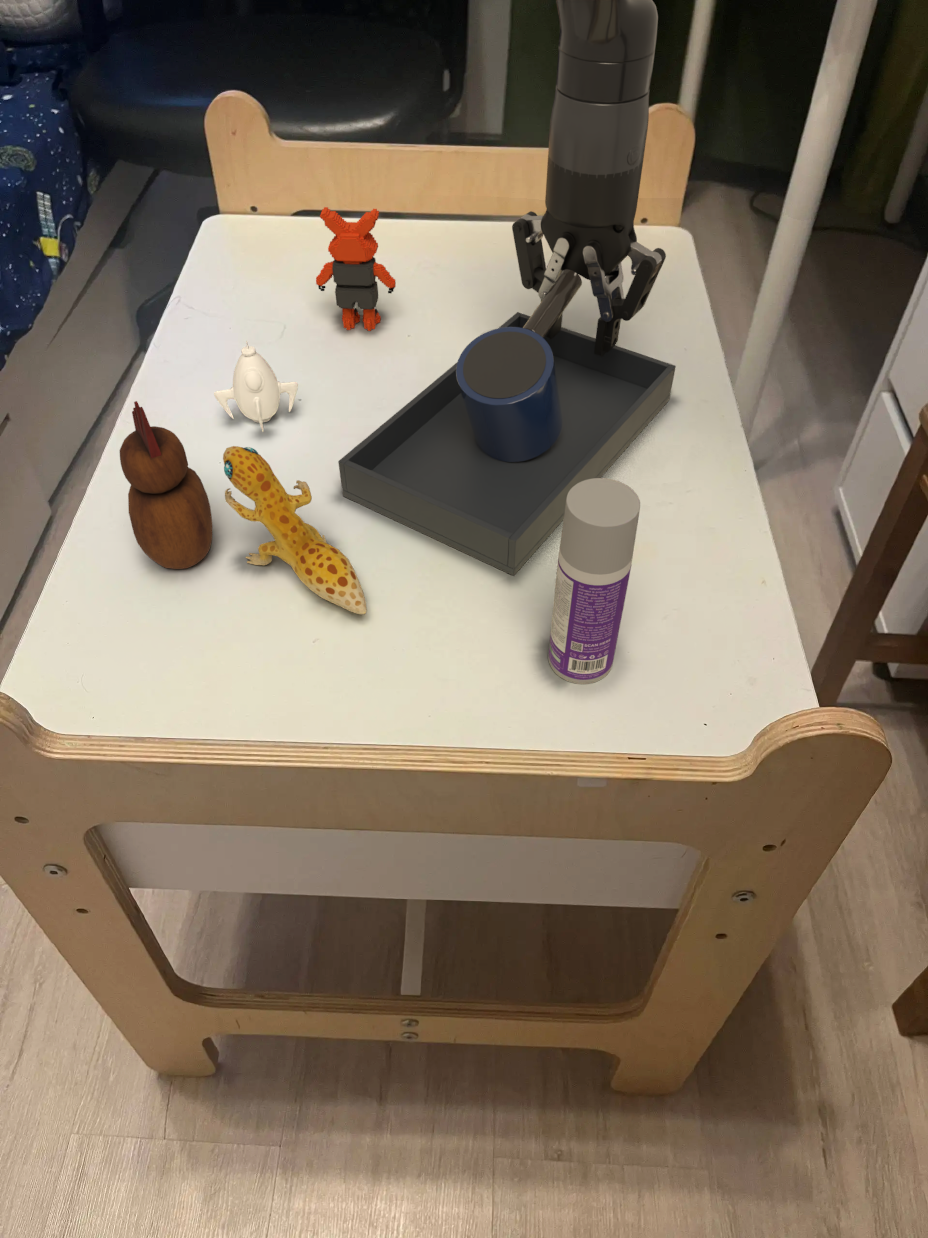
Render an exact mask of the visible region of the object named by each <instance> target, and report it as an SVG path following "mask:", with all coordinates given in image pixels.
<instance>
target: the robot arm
mask: <svg viewBox="0 0 928 1238" xmlns="http://www.w3.org/2000/svg"><path fill="white" fill-rule="evenodd" d="M555 3H556V8H557V14H558V21H559V34H558V35H559V36H558V51H557V65H556V80H555V89H554V91H555V92H554V96H553V103H552V108H551V114H550V120H549V121H550V122H549V131H548V136H547V141H548V150H547V165H546V166H547V167H546V183H545V196H544V197H545V198H544V205H545V208H546V209H545V212H544V214H543V215H537V213H536V212H535V211H532V210H531V211H528V212H527V213H525V214H524V215H522V216H521V217H520V218H518V219H517V220H516V221H514V222H513V223H512V226H511V230H512V236H513V241H514V246H515V251H516V252H515V253H516V259H517V264H518V270H519V274H520V281H521V284H522V286H523V288H525V289H526V290H534V291H535V292H536V293H537V296H538V297H539V299H540V302H541V301H542V300H543V298H544V297H545V295H546V294H547V293H548V291H549V290H550V288H551V287H552V286H553V284H554V283H555V281H556V280H557V278H558V277H559V276H560V274H561V273H562V271H563V270H566V269H570V270H573V271H575V272H576V273H577V274H578V275H579V276H580V277H582V278H584V279H585V280H587V281H589V283H590V287H591V292H592V296H593V297H595V298H596V301H597V305H598V311H599V315H600V316H599V318H597V325H596V333H595V338H596V340H595V349H594V354H595V355H598V356H601V357H602V356H603V355H604V354H605V353H606V352H609V351H610V350H611V349H612V348H613V347H614V346H615V345H616V346H617V343H618V342H619V335H620V329H621V321H625V322H628V321H630V320H632V319H633V318H634V317H635V316H636V315H637V314H638V313H639V312H640V311H641V310H642V309H643V307H644V306H645V305H646V303H647V300H648V298H649V295H650V293H651V291H652V289H653V287H654V286H655V282H656V280H657V278H658V276H659V274H660V271H661V269H662V267H663V265H664V263H665V261H666V257H667V255H666V251H665V250H664V249H663V248H661V247H657V248H654V249H653V250H651V249H650V248H647V247H646V246H644V245H643V244H642V243H639V242H638V237H637V234H636V231H635V218H636V214H637V209H638V202H639V201H638V200H639V196H640V195H639V194H640V188H641V180H642V173H643V167H644V158H645V152H646V151H645V150H646V144H647V136H648V131H649V130H648V128H649V121H650V119H649V118H650V89H651V82H652V76H653V68H654V63H655V62H654V61H655V55H656V54H655V53H656V45H657V38H658V26H659V25H658V24H659V14H658V10H657V9H658V8H657V6H656V4H655V2H654V1H653V0H555ZM543 237H544V238H545V240H546V243H547V245H548V247H549V249H550V252H551V253H552V254H551V257H550V259H549V261H548V264H547V265H546V259H545V252H544V247H543V246H544V245H543V240H542V239H543ZM627 257H628V258H629V259H630V262H631V266H630V273H631V275H632V276H633V279H632V281H631V284H630V286H629V287H628V289H627V290H628V291H627V293H626V295H625V296H624V289H623V282H624V271H623V266H622V262H623V261H624V260H625V259H626V258H627ZM563 315H564V312H563V313H562V314H561V316H560V317H559V319H558V320H557V321H556V323H555V324H554V326H553V327H552V329H551V330H550V332H549V333H548V334H547V336H546V338H549V339H552V338H553V337H554V336H556V335H557V334H558V333H559V332H560V330H561V327H563V326H562V325H563Z"/></svg>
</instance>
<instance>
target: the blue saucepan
mask: <svg viewBox="0 0 928 1238" xmlns="http://www.w3.org/2000/svg"><path fill="white" fill-rule="evenodd" d="M581 277H582V276H580V275H579V274H577V273H576V272H575V271H573V270H570V269H566V270H563V271H562V273H561V274H560V276H559V277H558V278H557V280H556V281H555V283H554V284H553V286H552V287H551V288H550V290H549V291H548V293H547V294H546V295H545V297H544V298H543V300H542V301H541V300H540V303H539V304H538V306H537V307H536V309H535V310H534V311H533V312H532V313H531V315H530V316H531V317H530V318H529V320H528V321H527V322H526V324H525V325H524V327H523V328H520V327H503V328H499V327H497V328H494V329H491V330H488V331H486V332H484V333H481V334H480V335H479V336H477V337H475V338H474V339H473V340H471V341H470V342H469V343H468V344H467V345H466V346H465V347H464V349H463V350H462V352H461V354H460V355H459V357H458V360H457V362H458V363H457V362H456V363H457V367H456V376H457V381H458V384H459V388H460V391H461V394H462V398H463V401H464V404H465V408H466V411H467V415H468V418H469V421H470V425H471V428H472V431H473V435H474V438H475V440H476V443H477V444H478V446H479V447H480V449H481V450H482V451H483V452H484V453H486V454H487V455H489V456H490V457H492V458H494V459H497V460H500V461H505V462H520V461H526V460H529V459H532V458H535V457H537V456H539V455H541V454H542V453H544V452H545V451H547V450H548V449H549V448H550V447H551V446H552V445H553V444H554V442H555V441H556V440H557V438H558V436H559V434H560V432H561V429H562V422H563V419H562V411H561V404H560V398H559V391H558V384H557V378H556V371H555V364H554V358H553V353H552V350H551V348H550V346H549V344H548V343H547V341H546V340H545V337H546V336H547V334H548V333H549V332H550V330H551V329H552V327H553V326H554V324H555V323H556V321H557V320H558V319H559V317H560V316H561V314H562V313H563V314H564V312H565V310H566V308H567V307H568V306H569V304H570V303H571V301H572V300H573V298H574V297H575V296H576V294H577V292H578V291H579V290H580V288H581V287H582V285H583V280H582V278H581Z"/></svg>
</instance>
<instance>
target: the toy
mask: <svg viewBox="0 0 928 1238" xmlns="http://www.w3.org/2000/svg"><path fill="white" fill-rule="evenodd" d="M222 460H223V465H224V467H223V472H224V475H225V476H226V477H227V479H228V480H229V481H230V483H231V484H232V486H233V487H234V488H235V489H237V490H238V491H239V492H241V493H242V494H243V495H244V496H245V497H247V498H248V499H250V500H251V501H253V502H254V506H255V507H254V509H251V508H248V507H246V506H244V505H243V504H241V503H240V502H238V501H237V500H236V499H235V497H233V496H232V494H233V493H232V490H231V488H226V489H225V490H224V499H225V502H226V504H228V505H229V507H230V508H232V510H234V511H235V512H236V513H237V514H238V515H239V516H240V517H241V518H242V519H244V520H246V521H250V522H257V523H258V522H259V523H261V524H262V525H263V526H264V527H265V528H266V529H267V531H268V532H269V534H270V535H271V536H272V537H273V539H274V540H270V541H267V542H264V543H260V544H259V546H258V548H257V549H258V553H255V552H249V553H248V555H247V556H245V559H248V560H247V561H246V563H247V564H250V565H255V566H267V565H269V564H270V563H272V561H273V556H275V557H278V559H280V560H282V561H283V562H285V563H286V564H288V565H289V566H291V569H292V570H293V571H294V573H295V575H296V576H297V578H298V579H299V580H300V582H302V584H304V585H305V586H306V587H307V588H308V589H309V590H310V591H311V592H313V593H314V594H315V595H317V596H318V597H320V598H322V599H323V600H326V602H327V601H328V602H329V603H332V604H334V605H336V606H338V607H340V608H343V609H344V610H347V611H349V612H351V613H354V614H356V615H365V614H367V602H366V598H365V594H364V589H363V587H362V585H361V582H360V579H359V577H358V575H357V573H356V571H355V568H354V566H353V565H352V563H351V561H350V559H349V558H348V557H347V556H346V555H345V554H344V553H343V552H342V551H340V549H338V548H336V547H334V546H332V545H331V544H329V543H327V540H326V537H325V535H324V534H322V535H321V534H320V533H319V531H318V529H317V528H315V526H313V525H311V524H309V523H307V522H305V521H304V520H303V519H302V518H301V516H299V514H297V513H296V510H298V509H299V508H302V507H304V506H307V505H309V504H310V503H311V502H312V501H313V500H312V498H313V497H312V496H313V495H312V493H311V489H310V486H309V484H308V482H307V481H303V480H299V479H298V480H297V479H296V482H295V483H296V485H294V486H293V490H296V489H297V490H300V492H301V494H295V495H294V494H290V493H288V492H287V491H286V489H285V488H284V486H283V485H282V483H281V482H280V480H279V479H278V477H277V476H276V475H275V473H274V471H273V469H272V467H271V465H270V464H269V463H268V461H266V459H265V458H263V456H261V454H259V452H258V450H256V449H255V448H253V447H249V446H245V447H242V446H239V445H233V446H229V447H226V448H225V450H224V452H223V454H222Z"/></svg>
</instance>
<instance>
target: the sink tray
mask: <svg viewBox="0 0 928 1238" xmlns="http://www.w3.org/2000/svg"><path fill="white" fill-rule="evenodd" d="M530 317H531V315H528V314H524V313H522V312H519V311H517V312H516V313H515V314H514V315H512V316H511V317H510V318H509V319H507V320H506V321H504V322H503V324H501V325H500V326H499V327H498V328H503V327H520V328H523V327H524V325H525V324H526V322H527V321H528V320H529V318H530ZM545 340H546V341H547V343H548V344H549V346H550V348H551V350H552V353H553V358H554V364H555V371H556V378H557V384H558V391H559V398H560V404H561V411H562V419H563V422H562V429H561V432H560V434H559V436H558V438H557V440H556V441H555V442H554V444H553V445H552V446H551V447H550V448H549V449H548V450H547V451H545V452H544V453H542V454H541V455H539V456H537V457H535V458H532V459H529V460H526V461H520V462H505V461H500V460H497V459H494V458H492V457H490V456H489V455H487V454H486V453H484V452H483V451H482V450H481V449H480V447H479V446H478V444H477V443H476V440H475V438H474V435H473V431H472V428H471V425H470V421H469V418H468V415H467V411H466V408H465V404H464V401H463V398H462V394H461V391H460V388H459V384H458V381H457V376H456V367H457V363H458V361H457V362H455V364H453V365H452V366H450V368H448V369H447V370H446V371H445V372H444V373H442V375H440V376H439V377H437V379H435V380H434V381H433V382H432V383H431V384H429V385H428V386H426V387H425V388H424V389H423V390H422V391H421V392H420V393H418V394H417V395H416V396H415V397H414V398H412V399H411V400H410V401H408V403H406V404H405V405H404V406H403V407H402V408H400V409H399V410H398V411H396V412H395V414H393V415H392V416H391V417H390V418H388V419H387V420H386V421H385V422H384V423H383V424H381V425H380V426H379V427H377V428H376V429H375V430H374V431H373V432H372V433H370V434H369V435H368V436H366V438H364V439H363V440H362V441H361V442H360V443H359V444H357V445H356V446H355V447H354V448H352V449H351V450H350V451H348V452H347V453H346V454H344V456H343V457H341V458H340V459H339V460H338V462H337V464H338V471H339V477H340V484H341V491H342V497H344V498H346V499H348V500H350V501H353V502H354V503H357V504H359V505H361V506H363V507H365V508H367V509H369V510H372V511H374V512H376V513H378V514H380V515H382V516H385V517H387V518H389V519H391V520H393V521H395V522H397V523H399V524H402V525H404V526H406V527H408V528H410V529H412V530H414V531H417V532H419V533H421V534H423V535H425V536H428V537H430V538H431V539H434V540H436V541H438V542H439V543H442V544H445V545H446V546H449V547H451V548H453V549H455V550H458V551H460V552H461V553H464V554H465V555H468V556H471V557H472V558H475V559H477V560H479V561H480V562H483V563H485V564H487V565H489V566H492V567H494V568H496V569H498V570H501V571H502V572H504V573H507V574H508V575H511V576H515V575H517V573H518V572H519V571H520V570H521V568H522V567H523V566H524V565H525V564H526V563H527V562H528V560H529V559H531V557H532V556H533V555H534V554H535V553H536V552H537V550H538V549H539V548H540V547H541V546H542V545H543V543H544V542H546V540H547V539H548V538H549V537H550V536H551V535H552V533H553V532H554V531H555V530H556V529H557V528H558V526H560V524H561V523H563V520H564V513H565V506H566V498H567V494H568V492H569V491H570V489H571V488H572V487H573V486H575V485H576V484H578V483H579V482H581V481H584V480H587V479H593V478H603V477H602V476H604V475H605V473H606V472H607V471H608V470H609V469H610V468H611V467H612V465H613V464H614V463H615V462H617V460H618V459H619V457H620V456H621V455H622V454H623V453H624V452H625V451H626V449H628V447H629V446H630V445H631V444H632V443H633V442H634V441H635V439H637V437H638V436H639V435H640V434H641V433H642V431H643V430H645V428H646V427H647V426H648V425H649V424H650V423H651V421H652V420H653V419H654V418H655V417H656V416H657V415H658V414H659V412H660V411H661V410H662V409H663V408H664V407H665V406H666V405H667V403H668V402H669V401H670V398H671V393H672V389H673V383H674V378H675V374H676V368H677V366H676V365H675V364H672V363H668V362H666V361H663V360H660V359H657V358H654V357H651V356H648V355H645V354H642V353H639V352H637V351H634V350H630V349H628V348H625V347H621V346H619V345H617V344H616V345H615V346H614V347H613V348H612V349H611V350H610V351H609V352H606V353H605V354H604V355H603V356H602V357H601V356H598V355H595V354H594V349H595V340H596V337H592V336H589V335H587V334H583V333H581V332H577V331H575V330H572V329H569V328H566V327H563V326H561V330H560V332H559V333H558V334H557V335H556V336H554V337H553V338H552V339H549V338H546V337H545Z"/></svg>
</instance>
